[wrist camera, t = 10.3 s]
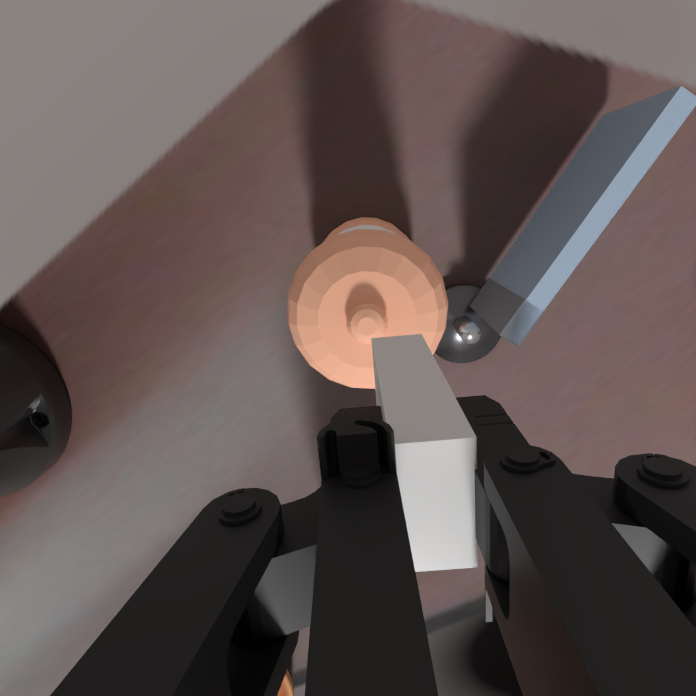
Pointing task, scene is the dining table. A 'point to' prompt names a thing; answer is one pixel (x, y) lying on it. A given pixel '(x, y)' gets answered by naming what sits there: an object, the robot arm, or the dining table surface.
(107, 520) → the dining table surface
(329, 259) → the pepper shaker
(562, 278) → the light blue rectangular panel
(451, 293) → the shiny grey rounded piece
